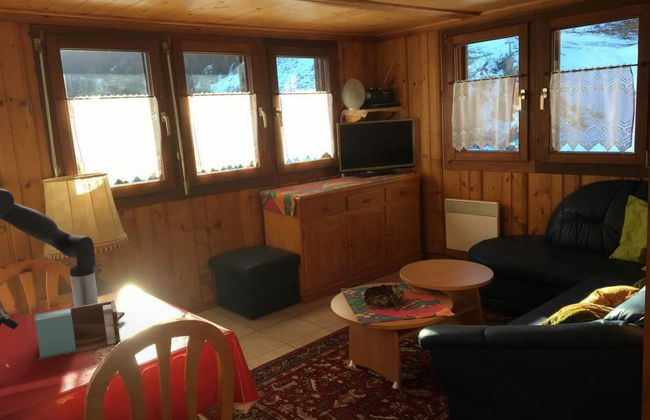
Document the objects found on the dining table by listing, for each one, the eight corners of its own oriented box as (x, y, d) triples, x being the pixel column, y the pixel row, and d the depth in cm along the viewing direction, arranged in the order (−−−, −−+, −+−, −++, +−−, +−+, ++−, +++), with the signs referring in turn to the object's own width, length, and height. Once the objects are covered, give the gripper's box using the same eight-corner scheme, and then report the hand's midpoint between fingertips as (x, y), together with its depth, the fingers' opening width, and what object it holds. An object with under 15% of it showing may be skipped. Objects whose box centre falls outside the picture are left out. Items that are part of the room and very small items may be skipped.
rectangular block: (41, 353, 190) (35, 314, 188) (75, 346, 195) (70, 308, 192) (40, 357, 187) (34, 318, 184) (75, 350, 191) (70, 312, 189)
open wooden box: (41, 349, 197) (35, 310, 195) (118, 334, 208) (113, 297, 205) (39, 363, 186) (33, 323, 183) (120, 347, 196) (116, 308, 193)
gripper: (-28, 294, 172) (22, 324, 179) (-21, 283, 184) (25, 311, 191) (-45, 313, 171) (6, 342, 178) (-37, 301, 182) (10, 328, 190)
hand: (16, 326), depth 184 cm, fingers closed
